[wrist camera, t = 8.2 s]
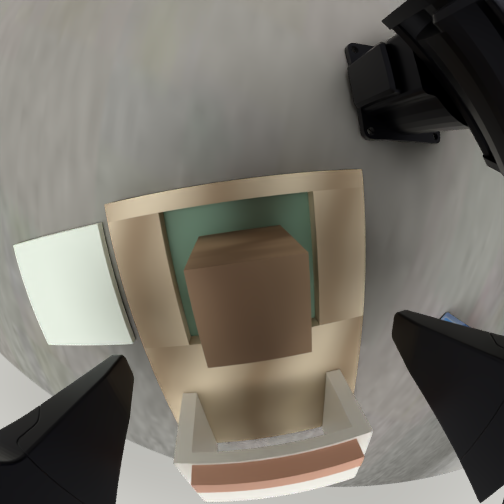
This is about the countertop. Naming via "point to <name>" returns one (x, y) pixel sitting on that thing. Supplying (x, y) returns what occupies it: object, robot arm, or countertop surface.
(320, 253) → the puzzle board
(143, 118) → the countertop surface
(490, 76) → the robot arm
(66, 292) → the coaster pad
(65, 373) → the countertop surface
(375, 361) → the countertop surface
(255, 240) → the walnut block
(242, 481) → the panel
